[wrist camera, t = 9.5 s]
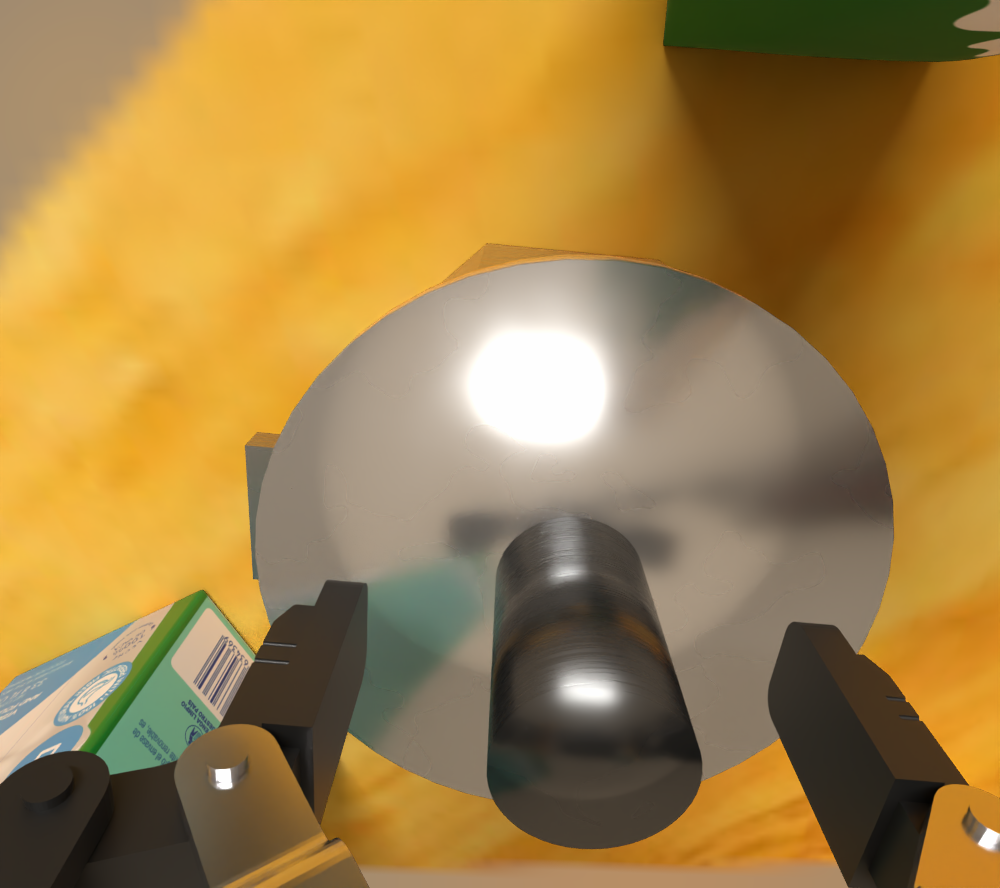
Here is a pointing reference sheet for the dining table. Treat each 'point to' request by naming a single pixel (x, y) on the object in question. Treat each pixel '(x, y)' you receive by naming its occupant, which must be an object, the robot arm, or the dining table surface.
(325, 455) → the lid
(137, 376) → the dining table surface
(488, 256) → the pot
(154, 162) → the dining table surface
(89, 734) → the milk carton
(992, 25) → the soya milk
